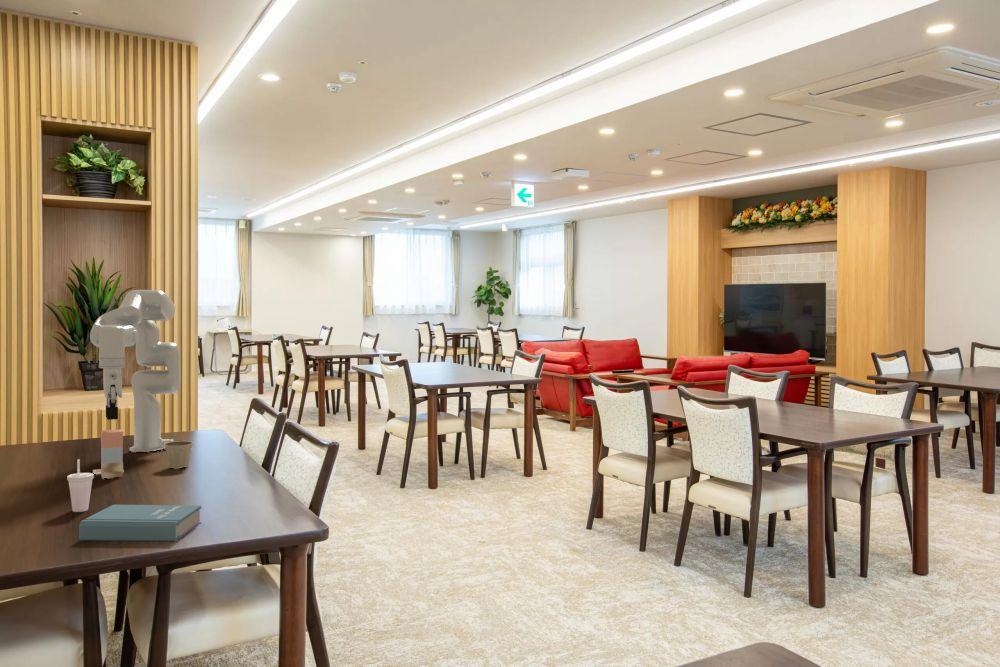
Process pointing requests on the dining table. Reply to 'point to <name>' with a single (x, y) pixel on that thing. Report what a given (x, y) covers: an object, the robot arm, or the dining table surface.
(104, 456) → the slate blue brick
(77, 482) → the smoothie
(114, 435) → the terracotta brick
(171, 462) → the flower pot
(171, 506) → the book
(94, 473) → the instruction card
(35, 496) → the dining table surface
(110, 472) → the maple brick
